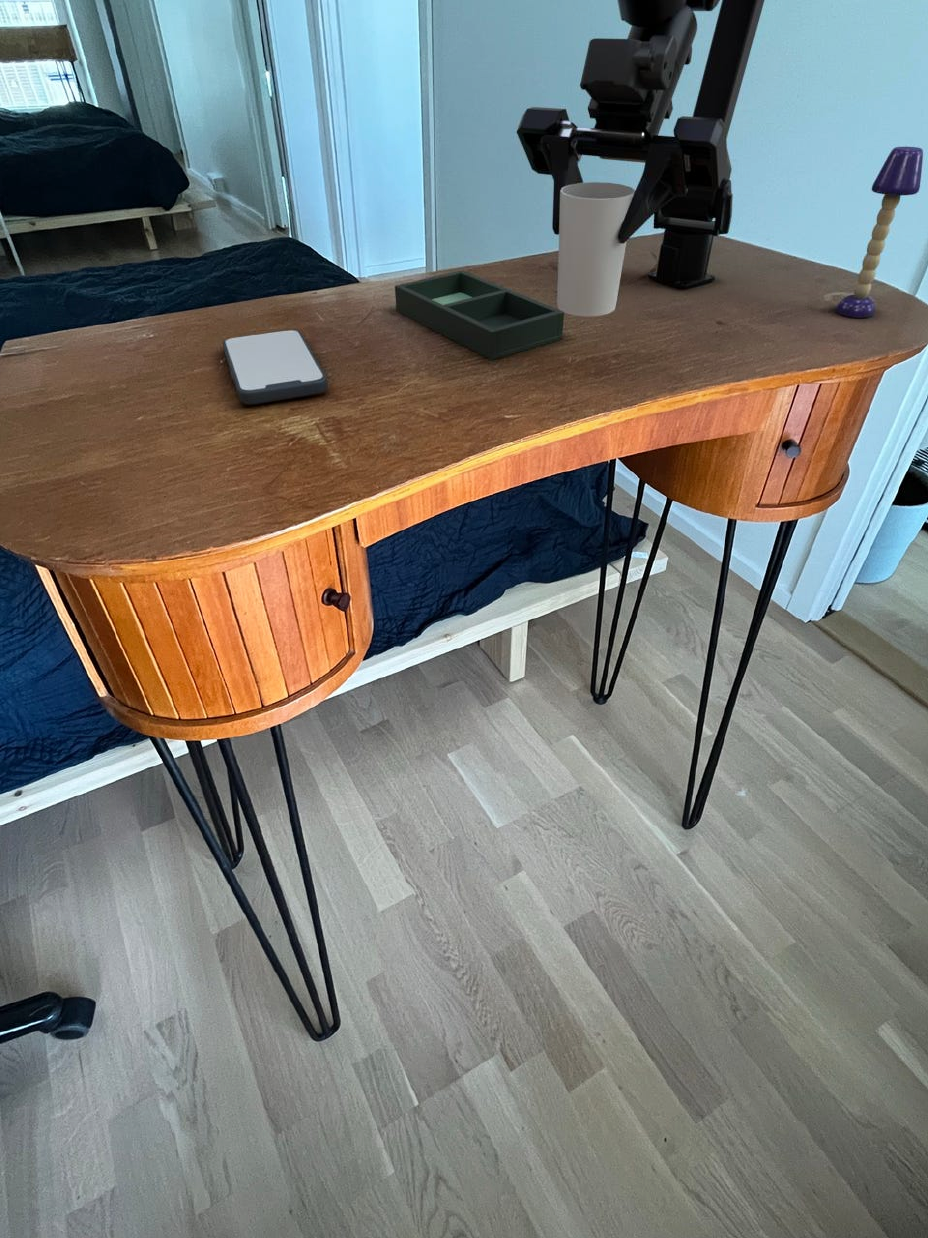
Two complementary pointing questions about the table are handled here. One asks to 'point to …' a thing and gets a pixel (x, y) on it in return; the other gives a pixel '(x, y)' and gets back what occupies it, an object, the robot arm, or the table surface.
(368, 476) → the table surface
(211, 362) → the table surface
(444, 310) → the tray
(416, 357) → the table surface
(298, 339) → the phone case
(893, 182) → the toy lamp
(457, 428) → the table surface
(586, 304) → the white cup
